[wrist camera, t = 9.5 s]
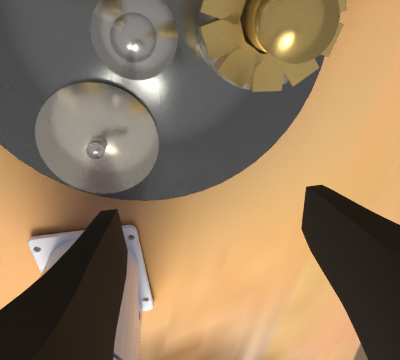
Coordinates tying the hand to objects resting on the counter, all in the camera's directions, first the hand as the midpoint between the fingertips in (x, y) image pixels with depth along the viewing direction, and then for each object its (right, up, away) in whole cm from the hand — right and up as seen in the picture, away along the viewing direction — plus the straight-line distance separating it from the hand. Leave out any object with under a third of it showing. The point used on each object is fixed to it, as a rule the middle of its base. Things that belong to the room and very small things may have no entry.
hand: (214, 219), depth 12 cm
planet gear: (+3, +10, +4) cm, 11 cm away
